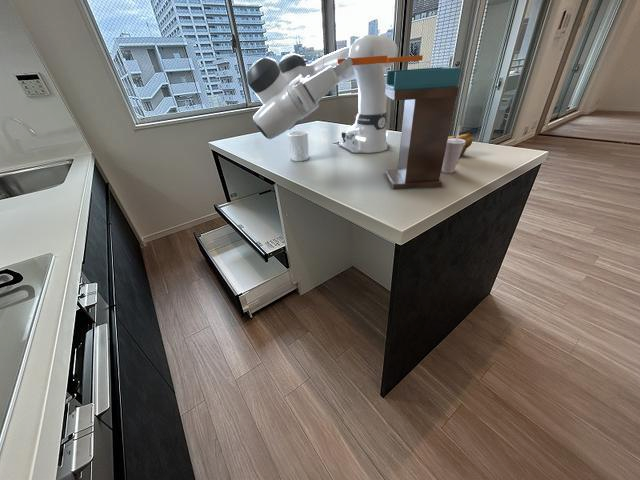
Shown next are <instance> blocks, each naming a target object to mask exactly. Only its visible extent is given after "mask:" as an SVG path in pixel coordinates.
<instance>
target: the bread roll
mask: <svg viewBox="0 0 640 480" xmlns="http://www.w3.org/2000/svg"><path fill="white" fill-rule="evenodd" d="M456 136H457V135H451V136H450V135H449V136H448V139H449V138H456ZM473 138H474V137H473V134H471V133H464V134H463V133H462V134H459V136H458V139H463V140H465V141H466V142H465V145H464V146H463V149H462V151H461V154H460V157H461V156H463V155H464V154H465V153H466V151H467V149H468V148H470V146H471V145H472V144H473V140H474V139H473Z"/></svg>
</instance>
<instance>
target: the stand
mask: <svg viewBox="0 0 640 480" xmlns="http://www.w3.org/2000/svg"><path fill="white" fill-rule="evenodd" d="M459 88H460V86H457V87H444V88H429V89H415V90H400V91H394V90H391V89H389V88H387V87H385V95H386V96H387V98H389V99H391V100H393V101H395V102H396V101H404V107H403V116H402V125H401V133H400V134H401V135H400V143H399V154H398V163H397V169H389V170H388V169H387V170H385V176H386V178H387V180H388V182H389V184H390V186H391V188H392V189H393V190H403V189H420V188H421V189H422V188H423V189H424V188H441V187H442V185H443V181H442V180H441V176H442V175H441V174H442V165H443V160H444V155H445V150H446V146H447V141H448V137H450V130H451V126H452V121H453V115H454V111H455V105H456V100H457V97H458V94H459Z"/></svg>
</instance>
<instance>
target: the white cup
mask: <svg viewBox="0 0 640 480" xmlns="http://www.w3.org/2000/svg"><path fill="white" fill-rule="evenodd" d="M287 137H288V138H287V139H288V143H289V150H290V154H291V158H292V161H294V162H304V161H307V160H309V158H310V156H309V152H310V151H309V150H310V149H309V132H308V131H304V130H298V131H291V132H288V133H287Z"/></svg>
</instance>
